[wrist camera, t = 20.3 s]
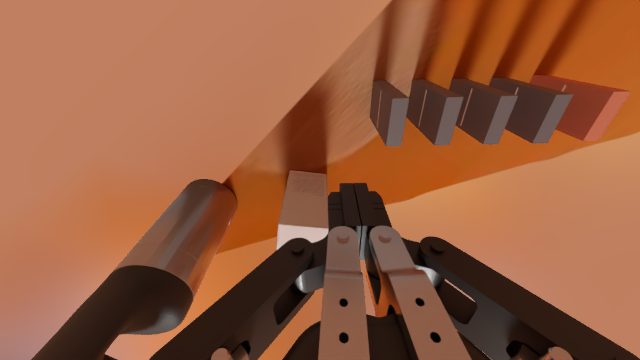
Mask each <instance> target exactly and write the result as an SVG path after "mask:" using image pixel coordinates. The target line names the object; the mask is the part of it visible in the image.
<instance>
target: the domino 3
mask: <svg viewBox="0 0 640 360" xmlns="http://www.w3.org/2000/svg"><path fill="white" fill-rule="evenodd" d="M449 90H450V91H452V92H454V93H456V94H458V95H460V96H463V101H462V104H461V108H460V111H459V114H458V118H457V121H456V126H458V127H459V128H460V129H462V130H463V131H465V132H466V133H468V134H469V135H470V136H472V137H473V138H475V139H476V140H478V141H479V142H481V143H482V144H498V143H499V141H500V138H501V136H502V134H503V131H504V129H505V126H506V124H507V122H508V119H509V117H510V114H511V112H512V110H513V107H514V105H515V102H516V100H517V97H518V96H517V95H514V94H511V93H508V92H505V91H502V90H499V89H496V88H493V87H490V86H487V85H484V84H481V83H478V82H475V81H472V80H469V79H465V78H452V81H451V85H450V89H449Z"/></svg>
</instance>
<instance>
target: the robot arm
mask: <svg viewBox="0 0 640 360" xmlns="http://www.w3.org/2000/svg"><path fill="white" fill-rule="evenodd" d="M236 209H237V200H236V198H235V196H234V194H233V193H232V191H231V190H230V189H229V188H227V187H226V186H225V185H223V184H221V183H219V182H216V181H213V180H208V179H200V180H196V181H193V182H191V183H190V184H189V185H187V187H186V188H185V189H184V190H183V191H182V192H181V194H180V195H179V196H178V197H177V198H176V199H175V200H174V202H173V203H172V204H171V205H170V206H169V207H168V208H167V209H166V211H165V212H164V213H163V214H162V215H161V217H160V218H159V219H158V220H157V221H156V222H155V223H154V224H153V226H152V227H151V228H150V229H149V230H148V232H147V233H146V234H145V235H144V236H143V237H142V238H141V240H140V241H139V242H138V243H137V244H136V245H135V246H134V248H133V249H132V250H131V251H130V252H129V254H128V255H127V256H126V257H125V258H124V260H123V261H122V262H121V263H120V264H119V265H118V266H117V267H116V269H115V270H114V271H113V272H112V273H111V274H110V275H109V276H108V278H107V279H106V280H105V281H104V282H103V283H102V284H101V285H100V287H99V288H98V289H97V290H96V291H95V292H94V293H93V294H92V295H91V296H90V297H89V298H88V299H87V300H86V301H85V302H84V303H83V304H82V305H81V306H80V307H79V308H78V309H77V311H76V312H75V313H74V314H73V315H72V316H71V317H70V318H69V320H68V321H67V322H66V323H65V324H64V325H63V326H62V327H61V329H60V330H59V331H58V332H57V333H56V334H55V335H54V336H53V337H52V338H51V339H50V340H49V341H48V343H47V344H46V345H45V346H44V347H43V348H42V349H41V350H40V351H39V352H38V353H37V354H36V355H35V356H34V358H32V360H117V359H114V358H112V357H110V356H108V355H105V352H106V350H107V349H108V348H109V346H110V345H111V344H112V342H113V341H114V340H115V339H116V338H117V337H118V335H120V334H141V335H152V334H159V333H164V332H168V331H170V330H173V329H174V328H176V327H177V326H178V325H179V324H181V322H182V321H183V320H184V318H185V316H186V314H187V312H188V310H189V308H190V306H191V304H192V302H193V300H194V298H195V296H196V294H197V292H198V289H199V287H200V285H201V283H202V281H203V279H204V276H205V274H206V272H207V270H208V268H209V266H210V264H211V262H212V260H213V258H214V256H215V253H216V251H217V249H218V247H219V245H220V243H221V241H222V239H223V237H224V235H225V232H226V230H227V228H228V226H229V224H230V222H231V220H232V218H233V216H234V214H235V211H236ZM360 260H365V263H366V269H365V275H366V278H367V282H368V286H369V290H370V294H371V297H372V301H373V305H374V309H375V315H376V317H374V316H371V315H367V314H366V308H365V296H364V284H363V274H362V272H361V269H360ZM445 279H446V280H448V281H449V282H450V283H452V284H453V285H455V286H456V287H458V288H459V289H460V290H462V291H463V292H464V293H466V294H467V295H469V296H470V297H471V298H472V299H473V300H474V301H475V302H474V301H472V300H471V299H469V298H468V297H466V296H465V295H464V294H462V293H461V292H460V291H458V290H457V289H456V288H454V287H453V286H451V285H450V284H448V283H447V282H445V281H444V280H445ZM320 288H323V300H322V314H321V321H319V322H317V323H315V324H313V325H312V326H310V327H309V328H308V329H306V330H305V331H304V332H303V333H302V334H301V336H299V338H298V339H297V340H296V342H295V343H294V344H293V346H292V347H291V349H290V350H289V351H288V353H287V354H286V356H285V357H284V358H283V360H491V359H492V360H640V359H639V358H638V357H637V356H635V355H634V354H632V353H630V352H629V351H627V350H625V349H624V348H622V347H621V346H619V345H617V344H615V343H614V342H612V341H611V340H609V339H607V338H606V337H604V336H602V335H601V334H599V333H597V332H596V331H594V330H592V329H591V328H589V327H587V326H586V325H584V324H582V323H581V322H579V321H577V320H576V319H574V318H572V317H571V316H569V315H568V314H566V313H564V312H563V311H561V310H559V309H558V308H556V307H554V306H553V305H551V304H549V303H548V302H546V301H544V300H543V299H541V298H539V297H538V296H536V295H534V294H533V293H531V292H529V291H528V290H526V289H524V288H523V287H521V286H520V285H518V284H516V283H514V282H513V281H511V280H509V279H508V278H506V277H505V276H503V275H501V274H500V273H498V272H496V271H495V270H493V269H491V268H490V267H488V266H486V265H485V264H483V263H481V262H480V261H478V260H476V259H475V258H473V257H471V256H470V255H468V254H466V253H465V252H463V251H461V250H460V249H458V248H456V247H455V246H453V245H452V244H450V243H448V242H447V241H445V240H443V239H441V238H438V237H426V238H423V239H422V240H421V242H420V243H419V242H414V241H410V240H406V239H404V238H402V237H401V236H400V234H399V233H398V232H397V231H396V230H395V229H393V228H392V226H391V223H390V220H389V217H388V215H387V212H386V210H385V206H384V204H383V201H382V198H381V196H380V195H379V194H378V193H377V192H376V191H368V187H367V184H366V183H340V191H339V192H331V193H330V195H329V196H328V234H327V235H326V237H325V238H323V239H322V240H320V241H317V242H313V243H311V242H310V241H309V240H307V239H305V238H293V239H291V240H289V241H287V242H286V243H285V244H284V245H282V246H281V247H280V248H279V249H278V250H277V251H275V252H274V253H273V254H272V255H271V256H270V257H268V258H267V259H266V260H265V261H264V262H262V263H261V264H260V265H259V266H258V267H256V268H255V269H254V270H253V271H252V272H251V273H249V274H248V275H247V276H246V277H245V278H244V279H242V280H241V281H240V282H239V283H238V284H236V285H235V286H234V287H233V288H232V289H231V290H229V291H228V292H227V293H226V294H225V295H224V296H222V297H221V298H220V299H219V300H218V301H216V302H215V303H214V304H213V305H212V306H211V307H209V308H208V309H207V310H206V311H205V312H203V313H202V314H201V315H200V316H199V317H198V318H196V319H195V320H194V321H193V322H192V323H190V324H189V325H188V326H187V327H186V328H184V329H183V330H182V331H181V332H180V333H179V334H177V335H176V336H175V337H174V338H173V339H172V340H170V341H169V342H168V343H167V344H166V345H164V346H163V347H162V348H161V349H160V350H159V351H157V352H156V353H155V354H154V355H153V356H152V357H151V358H150V360H258V358H259V357H260V356H261V355H262V354H263V352H264V351H265V350H266V349H267V348H268V347H269V345H270V344H271V343H272V342H273V341H274V340H275V338H276V337H277V336H278V335H279V334H280V333H281V331H282V330H283V329H284V328H285V327H286V325H287V324H288V323H289V322H290V321H291V319H292V318H293V317H294V316H295V315H296V314H297V313H298V311H299V310H300V309H301V308H302V307H303V305H304V304H305V303H306V302H307V301H308V300H309V298H310V297H311V296H312V295H313V294H314V291H315V290H317V289H320ZM457 330H458V331H459V332H458V331H457ZM476 346H477V347H478V348H477V347H476ZM482 351H483V352H484V353H485V354H486V355H485V354H484V353H483V352H482ZM489 357H490V358H491V359H490V358H489Z"/></svg>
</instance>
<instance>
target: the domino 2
mask: <svg viewBox="0 0 640 360" xmlns="http://www.w3.org/2000/svg"><path fill="white" fill-rule="evenodd" d="M462 101H463V96H460V95H458V94H456V93H454V92H452V91H450V90H447V89H445V88H443V87H441V86H439V85H436V84H434V83H432V82H430V81H428V80H426V79H413V80H412V86H411V92H410V98H409V103H408V109H407V115H406V117H407V118H408V119H409V120H410V121H411V122H412V123H413V124H414V125H415V126H416V127H417V128H418V129H419V130H420V131H421V132H422V133H423V134H424V135H425V136H426V137H427V138H428V139H429V140H430V141H431V142H432V143H433V144H434V145H450V142H451V138H452V135H453V131H454V128H455V125H456V121H457V118H458V114H459V111H460V108H461V104H462Z"/></svg>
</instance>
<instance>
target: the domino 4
mask: <svg viewBox="0 0 640 360" xmlns="http://www.w3.org/2000/svg"><path fill="white" fill-rule="evenodd" d="M489 86H490V87H493V88H496V89H499V90H502V91H505V92H508V93H511V94H514V95H517V96H518V97H517V100H516V102H515V105H514V107H513V110H512V112H511V114H510V117H509V119H508V122H507V124H506V126H505V129H506V130H508V131H510V132H512V133H514V134H516V135H518V136H520V137H521V138H523V139H525V140H527V141H529V142H531V143H548V141H549V139H550V138H551V136H552V134H553V132H554V130H555V128H556V126H557V124H558V123H559V121H560V119H561V117H562V115H563V113H564V111H565V110H566V108H567V106H568V104H569V102H570V100H571V98H572V96H573V95H574V94H570V93H566V92H562V91H558V90H554V89H550V88H546V87H542V86H538V85H534V84H530V83H526V82H522V81H518V80H514V79H510V78H506V77H492V79H491V82H490V85H489Z"/></svg>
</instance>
